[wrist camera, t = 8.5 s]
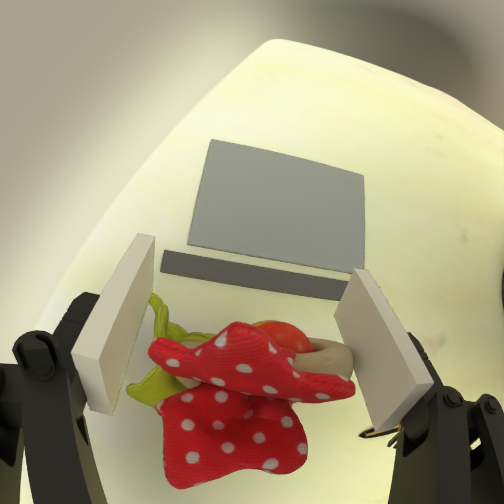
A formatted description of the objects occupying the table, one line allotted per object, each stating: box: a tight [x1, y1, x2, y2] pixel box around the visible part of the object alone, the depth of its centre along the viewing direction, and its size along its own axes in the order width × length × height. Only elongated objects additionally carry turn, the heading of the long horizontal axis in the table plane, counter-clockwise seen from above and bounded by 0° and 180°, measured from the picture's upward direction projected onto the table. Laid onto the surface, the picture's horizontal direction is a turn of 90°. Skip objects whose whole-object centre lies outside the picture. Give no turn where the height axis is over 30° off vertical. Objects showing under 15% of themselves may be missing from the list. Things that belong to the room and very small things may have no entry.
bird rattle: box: [126, 293, 355, 489], centre depth 11 cm, size 6×11×9 cm
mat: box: [160, 139, 380, 301], centre depth 31 cm, size 22×15×1 cm
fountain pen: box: [359, 421, 403, 438], centre depth 27 cm, size 14×1×2 cm, turn 90°
